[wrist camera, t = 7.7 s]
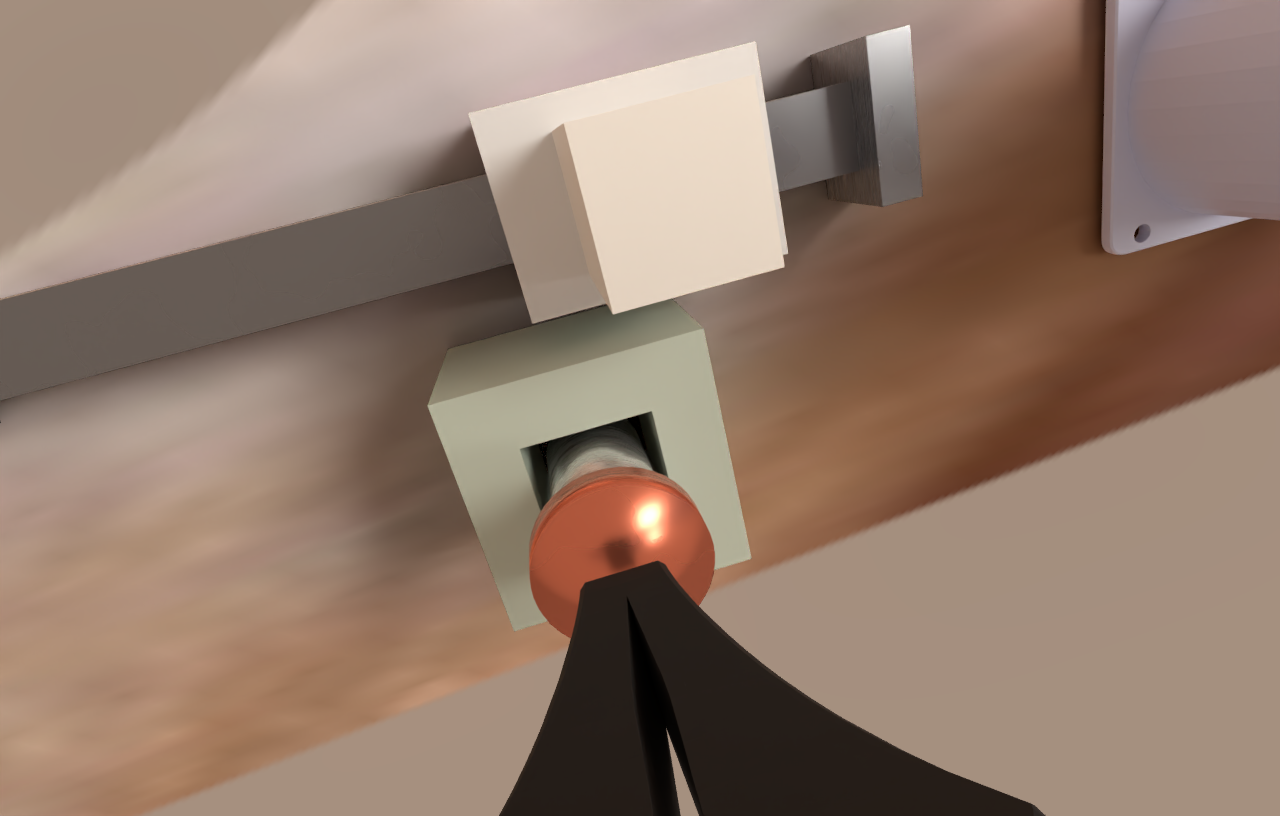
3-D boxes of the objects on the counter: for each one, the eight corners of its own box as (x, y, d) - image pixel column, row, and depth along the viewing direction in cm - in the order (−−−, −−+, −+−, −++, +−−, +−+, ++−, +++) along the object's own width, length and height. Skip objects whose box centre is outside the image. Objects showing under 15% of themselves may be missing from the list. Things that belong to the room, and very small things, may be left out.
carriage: (715, 60, 17) (842, -1, 10) (746, 238, 18) (872, 284, 12) (476, 120, 16) (449, 97, 10) (530, 297, 18) (537, 378, 11)
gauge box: (662, 290, 19) (703, 328, 15) (705, 478, 21) (751, 558, 17) (447, 348, 18) (427, 405, 14) (514, 535, 21) (514, 631, 16)
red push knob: (643, 373, 17) (694, 463, 12) (672, 491, 18) (730, 616, 13) (508, 411, 17) (505, 518, 12) (547, 528, 18) (559, 669, 13)
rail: (847, 45, 17) (910, 24, 15) (862, 189, 19) (922, 195, 16) (-135, 294, 16) (-275, 324, 13) (-40, 433, 17) (-149, 487, 14)
